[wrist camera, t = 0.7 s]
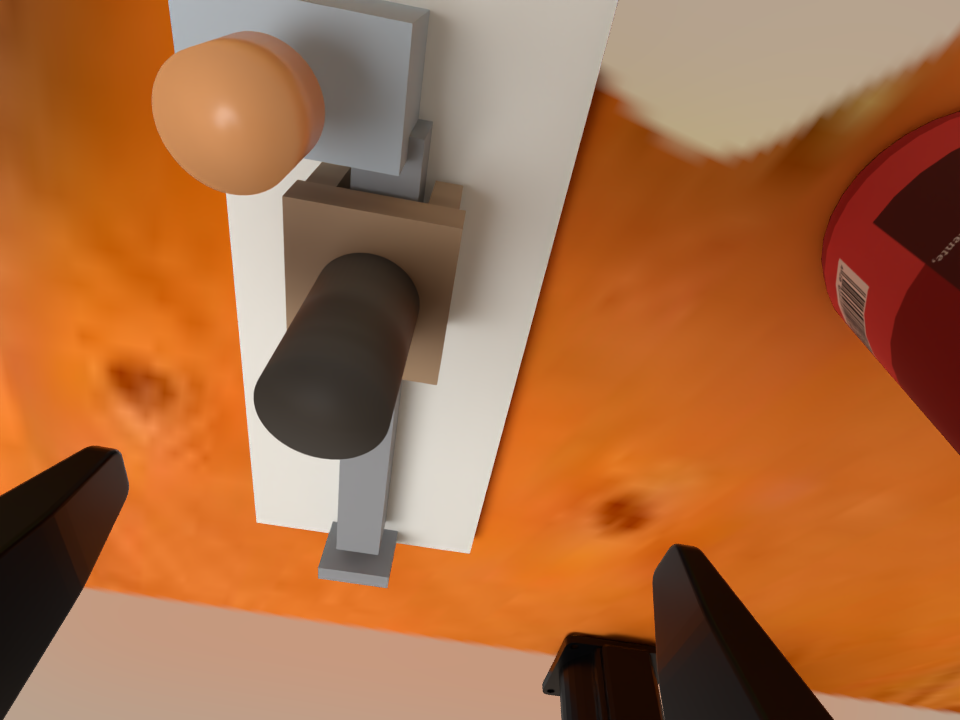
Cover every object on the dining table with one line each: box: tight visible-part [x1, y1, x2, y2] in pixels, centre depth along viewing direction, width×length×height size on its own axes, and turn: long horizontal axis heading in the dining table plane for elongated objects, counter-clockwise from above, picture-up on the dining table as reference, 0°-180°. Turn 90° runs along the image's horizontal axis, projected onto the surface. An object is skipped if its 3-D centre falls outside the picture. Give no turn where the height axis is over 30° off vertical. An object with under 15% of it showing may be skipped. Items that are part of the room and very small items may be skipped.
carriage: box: [253, 162, 466, 460], centre depth 15 cm, size 5×4×8 cm
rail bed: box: [168, 0, 618, 588], centre depth 19 cm, size 23×10×4 cm, turn 170°
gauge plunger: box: [152, 31, 325, 195], centre depth 10 cm, size 2×2×2 cm
